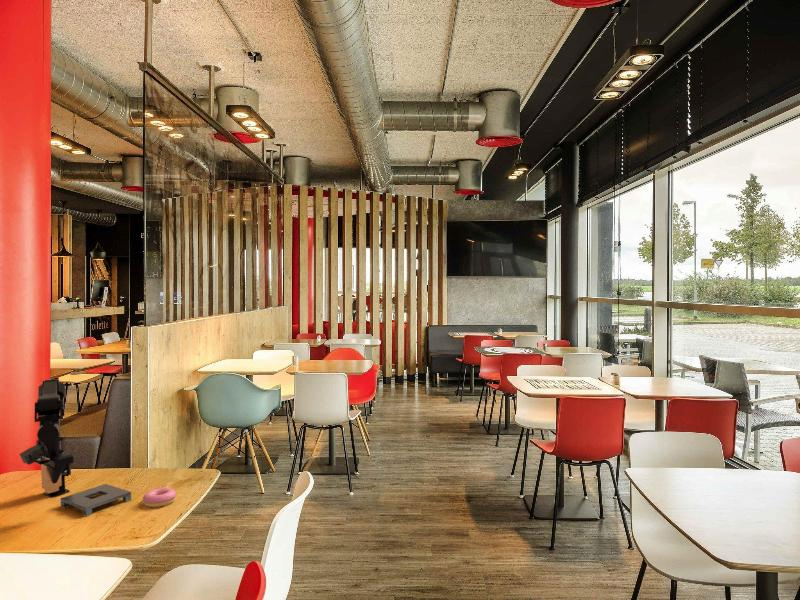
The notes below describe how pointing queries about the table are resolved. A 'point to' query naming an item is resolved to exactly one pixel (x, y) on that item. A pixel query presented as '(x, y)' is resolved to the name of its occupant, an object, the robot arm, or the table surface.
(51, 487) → the square wooden peg
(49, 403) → the robot arm
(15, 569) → the table surface
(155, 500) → the doughnut
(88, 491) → the slotted plate
